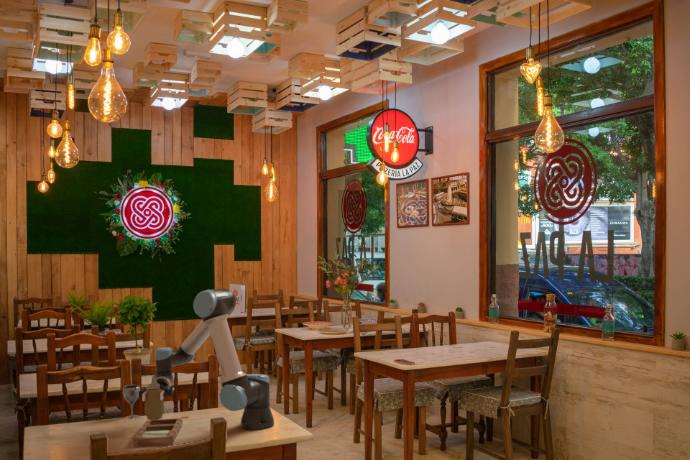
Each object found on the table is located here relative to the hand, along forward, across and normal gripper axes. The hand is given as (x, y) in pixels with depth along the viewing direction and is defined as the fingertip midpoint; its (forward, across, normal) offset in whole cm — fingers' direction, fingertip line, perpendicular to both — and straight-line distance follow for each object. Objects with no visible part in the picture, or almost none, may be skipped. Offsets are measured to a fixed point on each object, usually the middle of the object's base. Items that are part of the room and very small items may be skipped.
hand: (152, 397), depth 270 cm
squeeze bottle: (-5, 0, -10) cm, 11 cm away
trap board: (-15, 0, -20) cm, 25 cm away
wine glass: (-52, +19, -20) cm, 59 cm away
